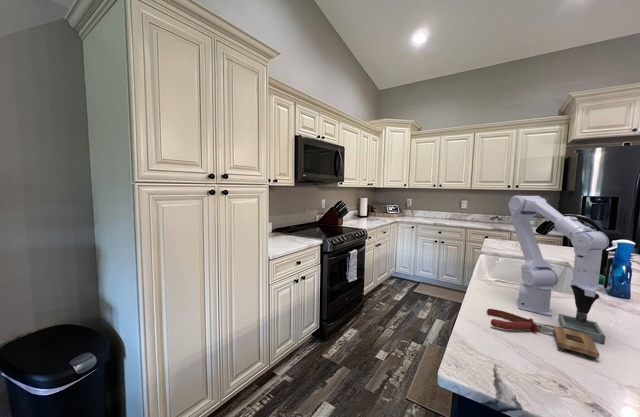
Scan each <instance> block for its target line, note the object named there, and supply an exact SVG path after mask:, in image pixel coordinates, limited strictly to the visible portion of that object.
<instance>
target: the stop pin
mask: <svg viewBox="0 0 640 417" xmlns="http://www.w3.org/2000/svg"><path fill="white" fill-rule="evenodd" d="M575 317H576V321H578V322H581V323H586V321H587V320H588V314H585V313H581V312H578V308H576V316H575Z"/></svg>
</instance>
